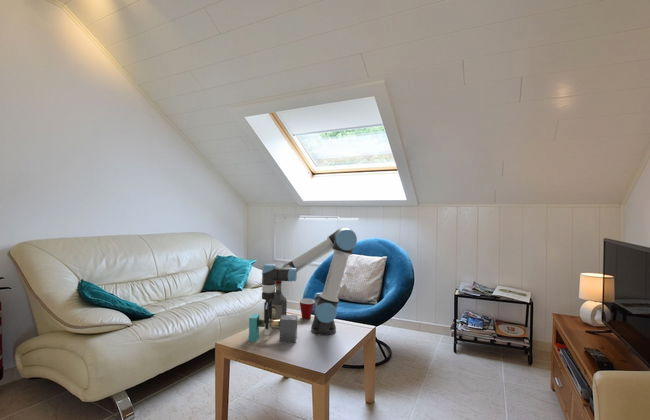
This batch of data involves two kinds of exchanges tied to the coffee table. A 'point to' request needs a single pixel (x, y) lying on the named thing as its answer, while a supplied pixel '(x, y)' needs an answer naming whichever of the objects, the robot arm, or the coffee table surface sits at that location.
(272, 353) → the coffee table surface
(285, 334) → the grey matte cuboid
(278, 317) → the liquor
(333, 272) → the robot arm
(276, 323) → the brass tube
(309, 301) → the plastic cup
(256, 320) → the socket
